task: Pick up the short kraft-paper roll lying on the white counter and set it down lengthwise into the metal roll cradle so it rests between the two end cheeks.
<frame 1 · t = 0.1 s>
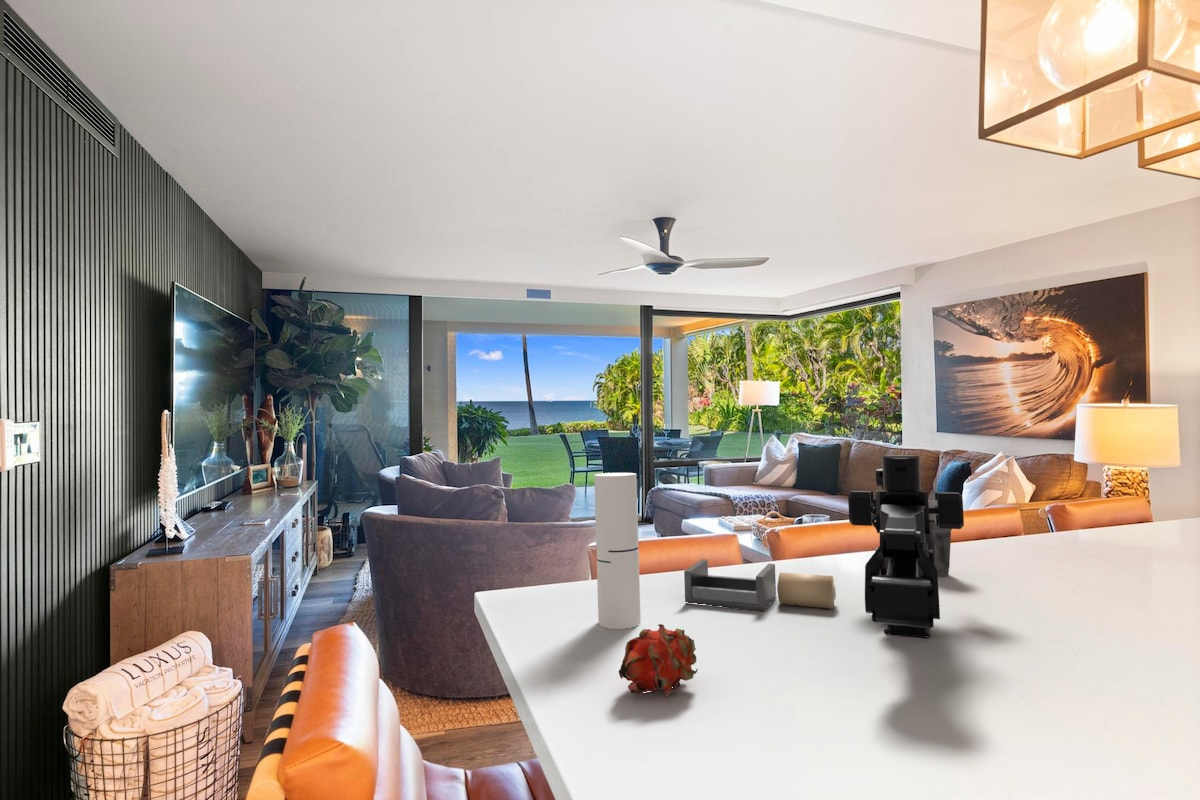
hand: (904, 503, 127), 17 cm above the table, tool horizontal, fingers open, 9 cm apart
beverage cup: (936, 575, 139), on the table
cradle: (731, 599, 124), on the table
cylindrical container: (619, 623, 112), on the table
paper roll: (806, 605, 119), on the table
dragon fruit: (658, 692, 84), on the table
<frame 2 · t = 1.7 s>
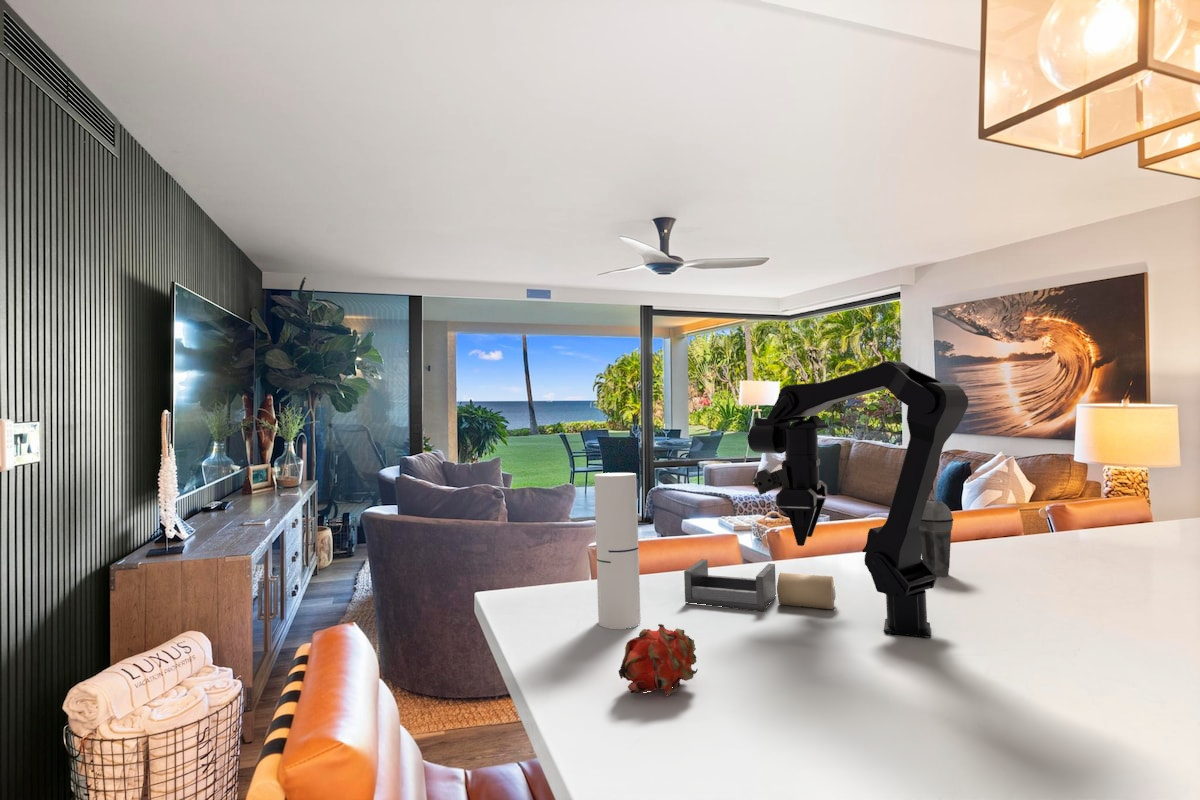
hand: (804, 541, 120), 11 cm above the table, tool pointing down, fingers open, 9 cm apart
paper roll: (806, 605, 119), on the table, tilted 7°
everything else where it was.
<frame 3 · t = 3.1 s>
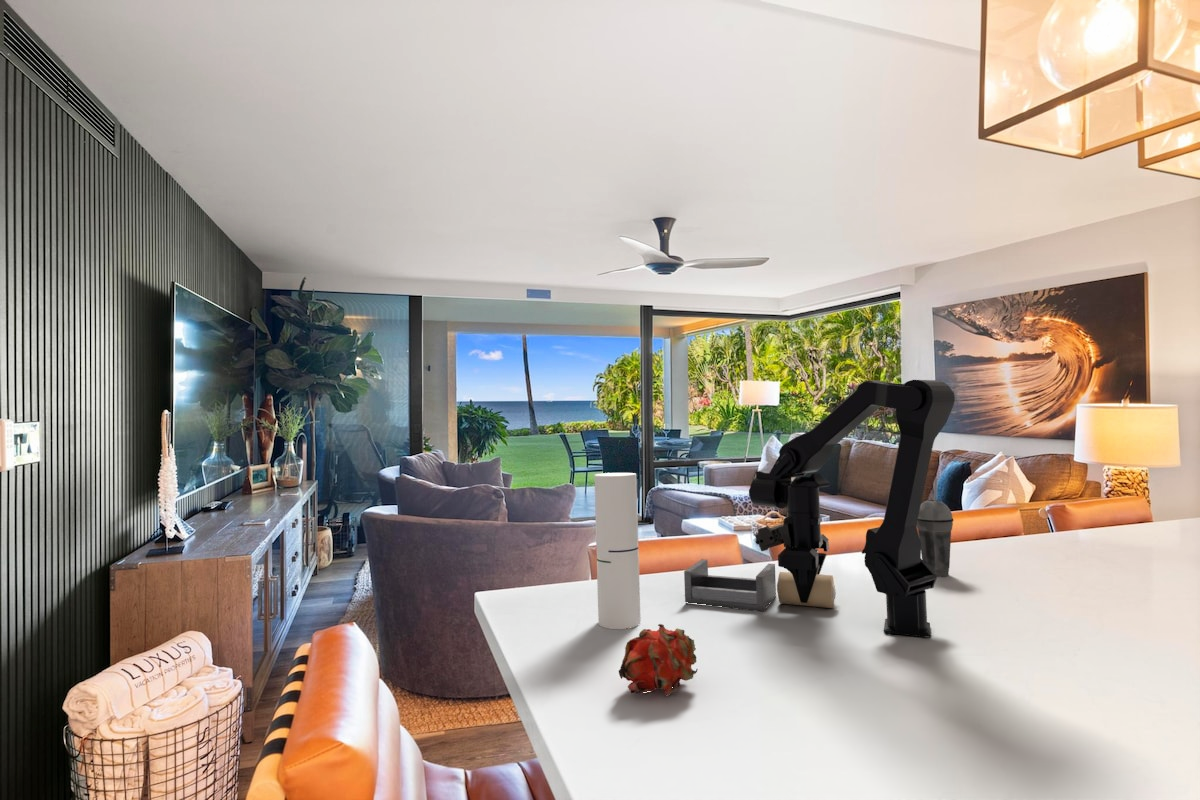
hand: (806, 598, 119), 1 cm above the table, tool pointing down, fingers closed on paper roll, 6 cm apart
paper roll: (806, 605, 119), on the table, touching gripper
everything else where it was.
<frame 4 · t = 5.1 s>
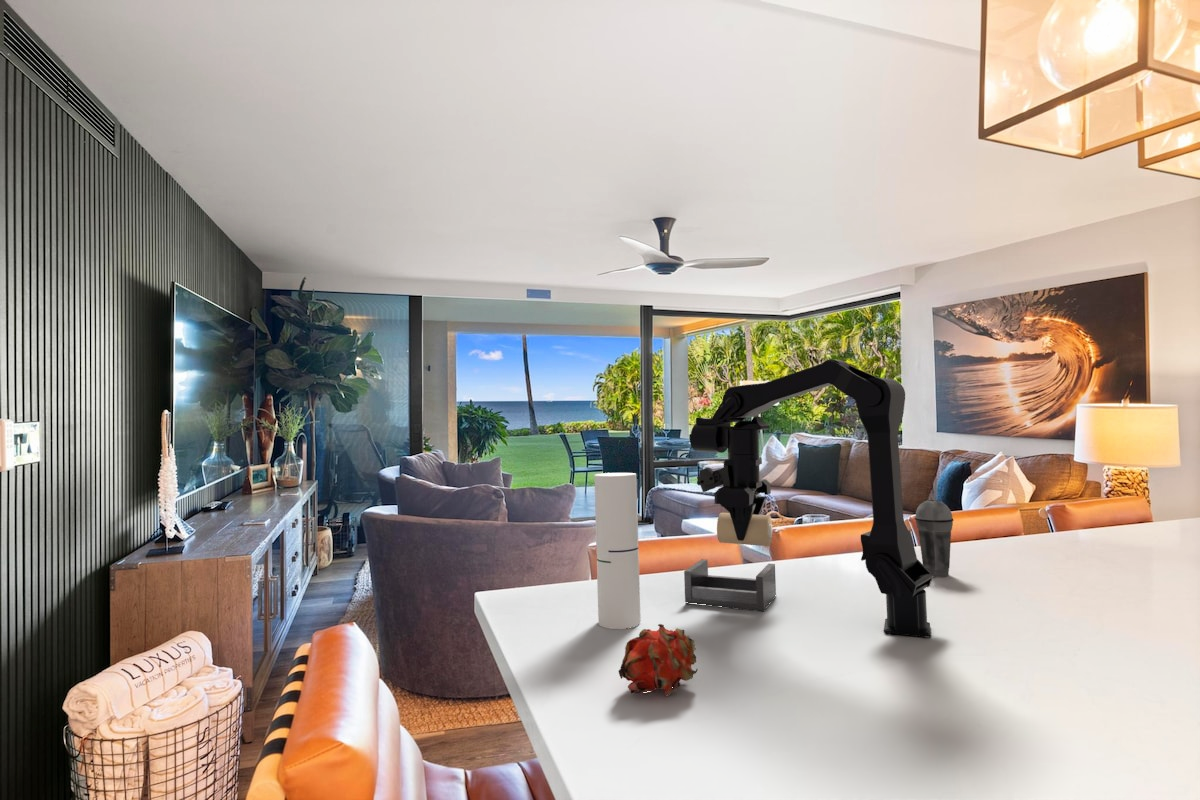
hand: (744, 537, 124), 12 cm above the table, tool pointing down, fingers closed on paper roll, 6 cm apart
paper roll: (745, 544, 124), point 10 cm above the table, touching gripper
everything else where it was.
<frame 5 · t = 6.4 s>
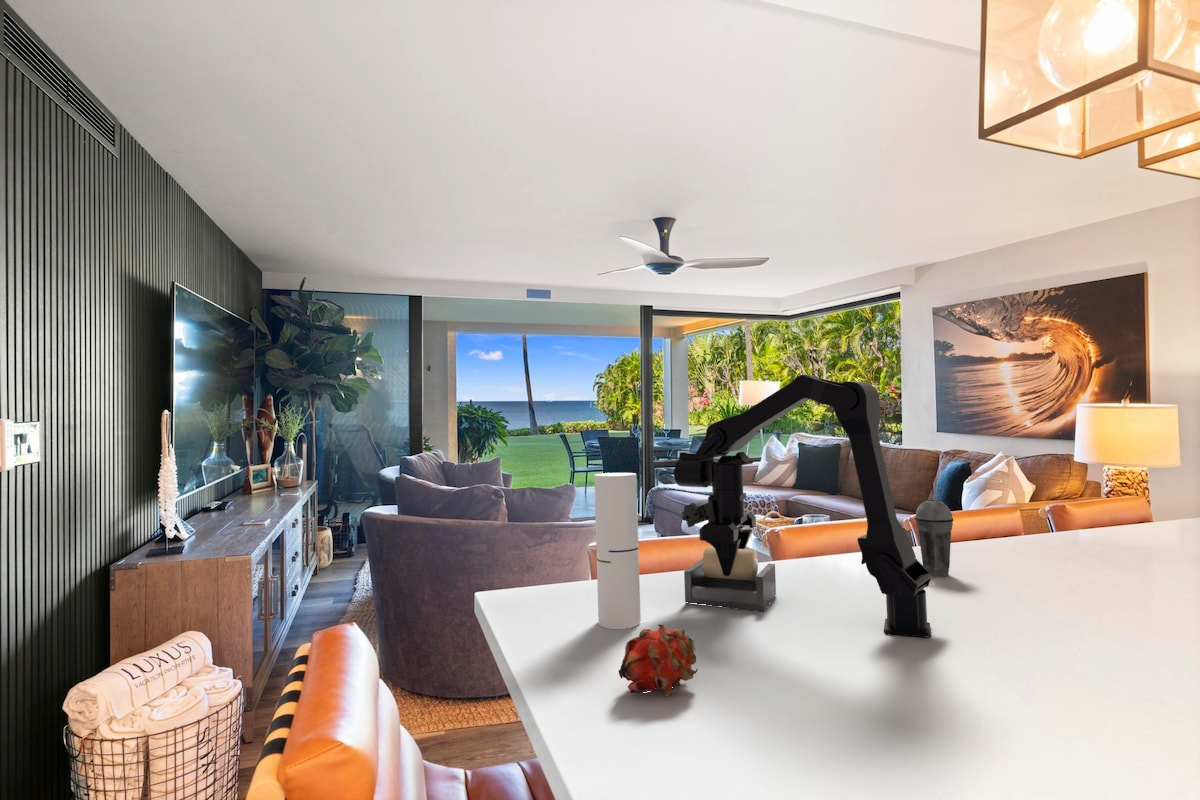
hand: (730, 572, 124), 5 cm above the table, tool pointing down, fingers closed on paper roll, 6 cm apart
paper roll: (731, 578, 124), point 4 cm above the table, touching gripper
everything else where it was.
when the fingers open (4 cm above the table, at t = 7.1 s): paper roll drops 2 cm, resting on cradle.
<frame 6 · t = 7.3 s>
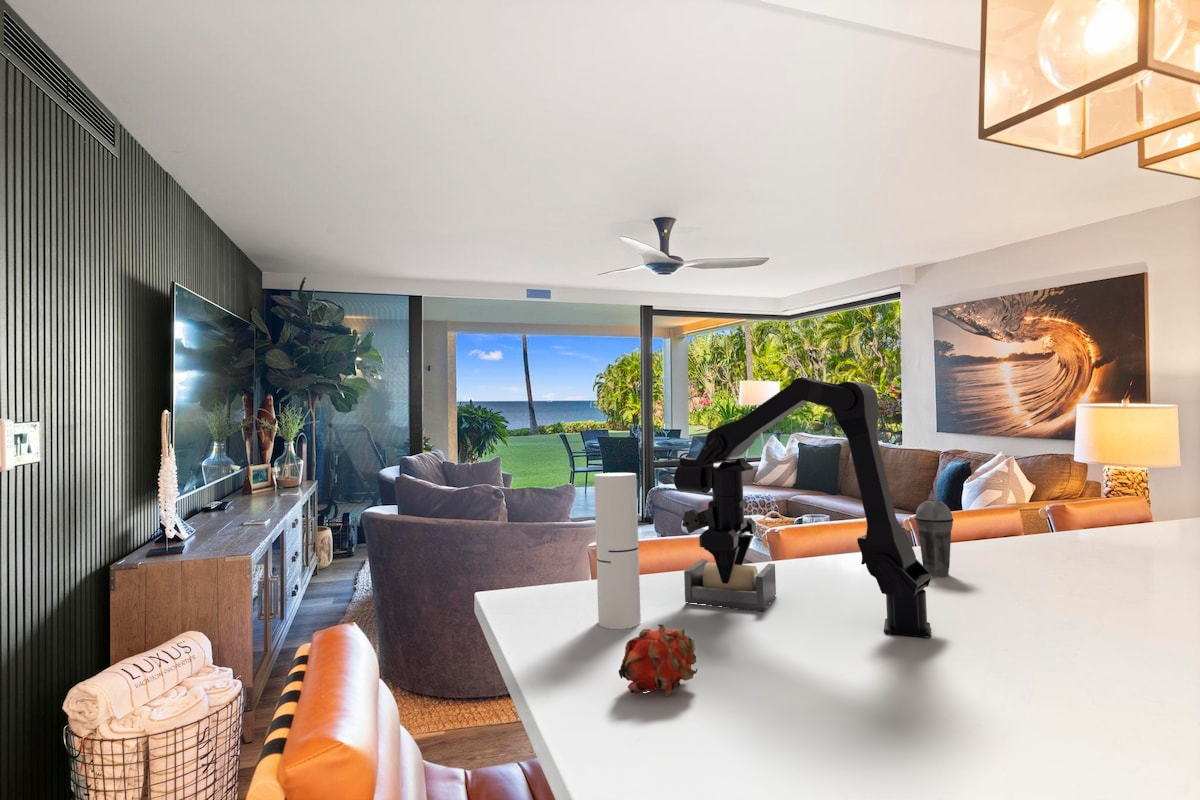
hand: (730, 578, 124), 4 cm above the table, tool pointing down, fingers open, 8 cm apart
paper roll: (731, 594, 124), point 1 cm above the table, touching cradle
everything else where it was.
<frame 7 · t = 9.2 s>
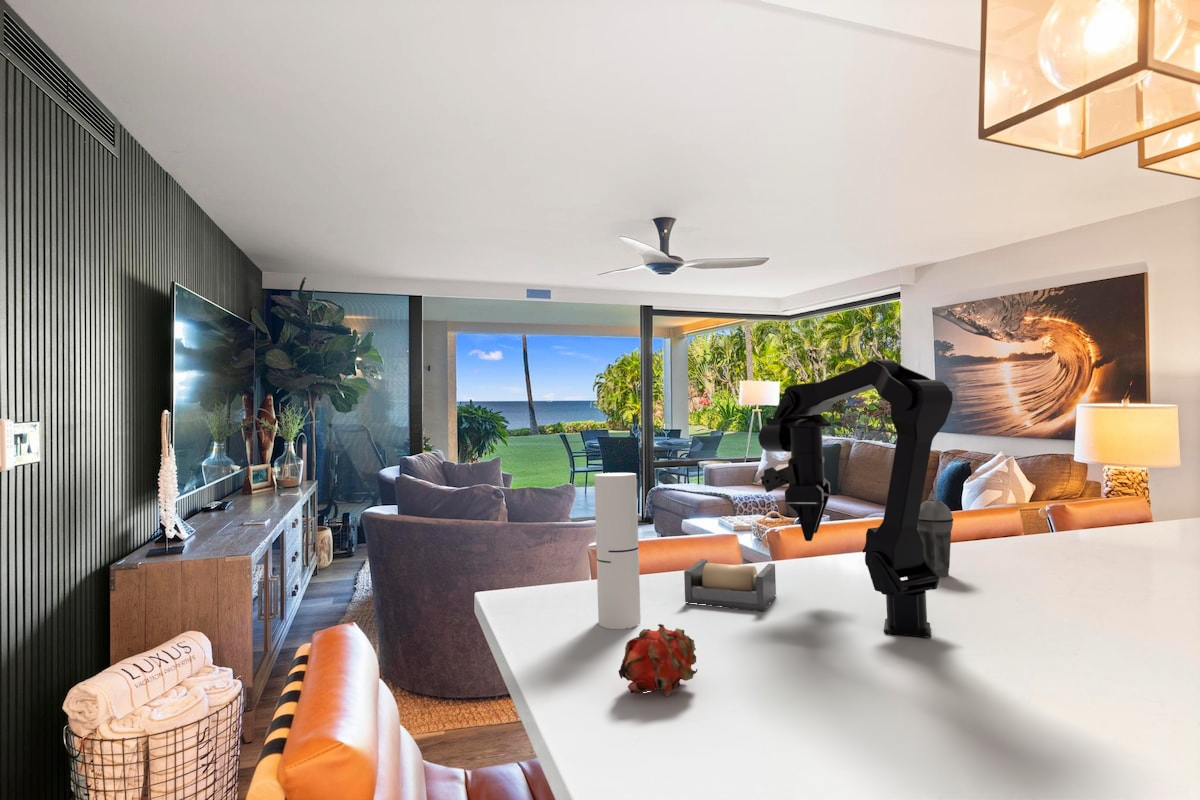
hand: (811, 536, 123), 12 cm above the table, tool pointing down, fingers open, 9 cm apart
paper roll: (731, 594, 124), point 1 cm above the table, tilted 12°, touching cradle
everything else where it was.
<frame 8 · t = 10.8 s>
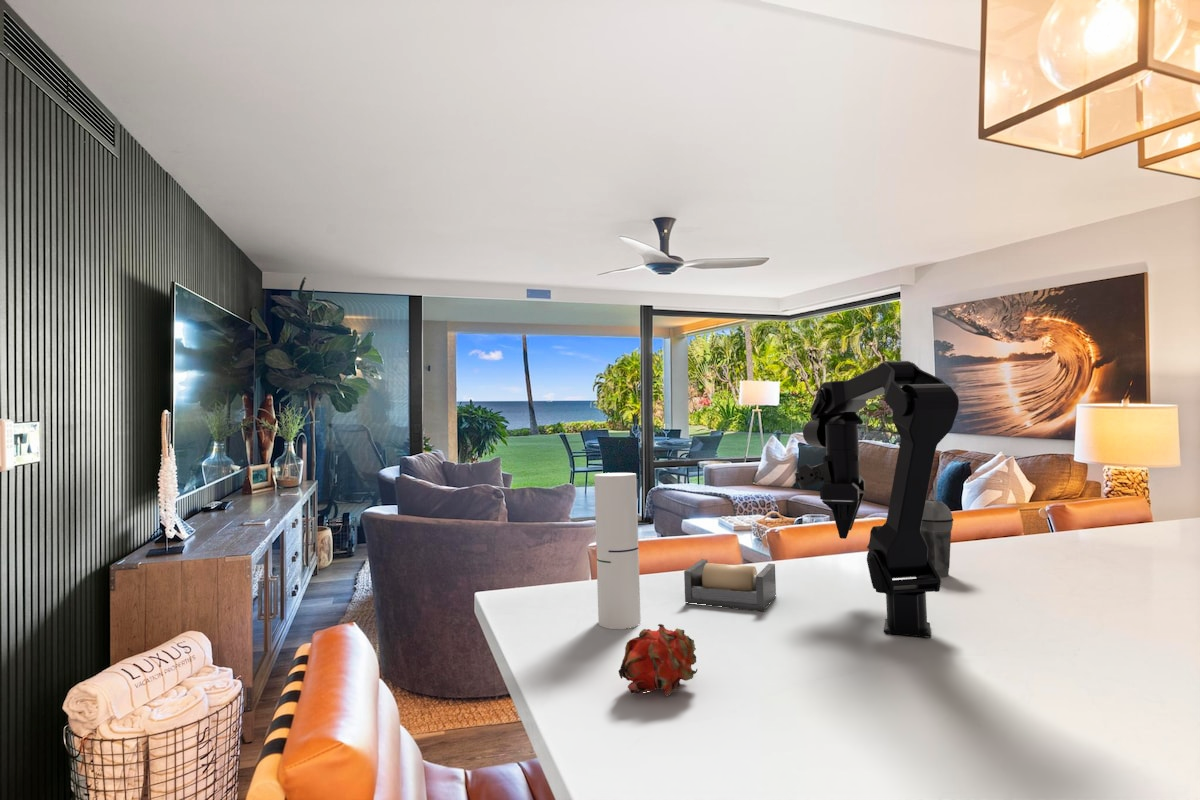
hand: (845, 534, 122), 12 cm above the table, tool pointing down, fingers open, 9 cm apart
nothing on the table moved.
at the end: paper roll inside the target area on the cradle (0.1 cm from its centre), point 1.1 cm above the cradle's base; paper roll touching cradle; the gripper is holding nothing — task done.
